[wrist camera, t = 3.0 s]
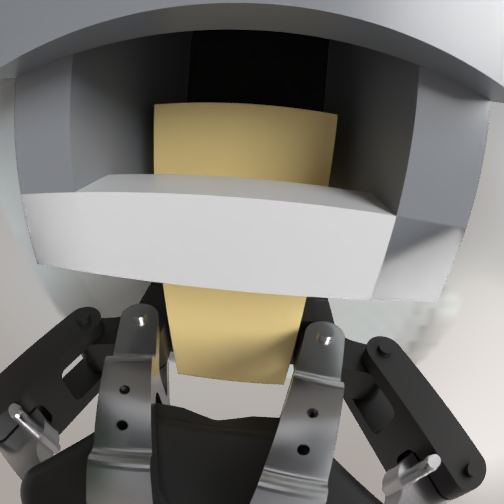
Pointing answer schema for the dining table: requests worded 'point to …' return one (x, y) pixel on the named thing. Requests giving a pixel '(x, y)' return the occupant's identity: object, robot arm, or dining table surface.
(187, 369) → the yellow rectangular block
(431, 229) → the dispenser
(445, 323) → the dining table surface
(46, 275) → the dining table surface
